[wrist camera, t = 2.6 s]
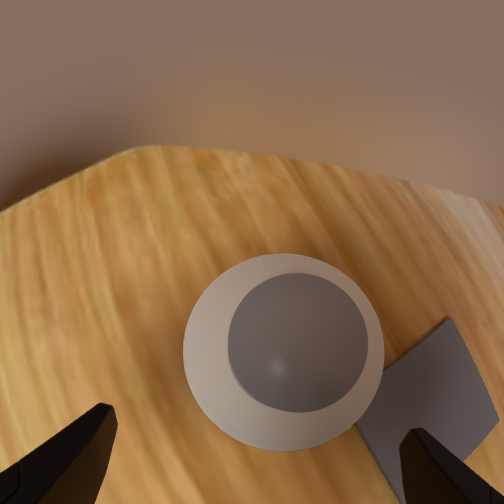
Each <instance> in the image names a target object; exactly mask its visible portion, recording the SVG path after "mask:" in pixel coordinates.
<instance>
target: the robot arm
mask: <svg viewBox="0 0 504 504" xmlns="http://www.w3.org/2000/svg"><path fill="white" fill-rule="evenodd" d="M117 426H118V423H117V418H116V414H115V410H114V407H113V406H112V405H109V404H105V403H98V404H97V405H95V406H94V407H93V408H91V409H90V410H89V411H87V412H86V413H85V414H83V415H82V416H80V417H79V418H78V419H76V420H75V421H74V422H72V423H71V424H69V425H68V426H67V427H65V428H64V429H63V430H61V431H60V432H58V433H57V434H56V435H54V436H53V437H51V438H50V439H49V440H47V441H46V442H44V443H43V444H42V445H40V446H39V447H37V448H36V449H35V450H33V451H32V452H30V453H29V454H28V455H26V456H25V457H23V458H22V459H20V460H19V461H18V462H16V463H14V464H13V465H12V466H10V467H9V468H7V469H6V470H4V471H2V472H1V473H0V504H95V501H96V498H97V496H98V493H99V490H100V487H101V485H102V482H103V479H104V477H105V474H106V471H107V468H108V464H109V460H110V455H111V451H112V447H113V443H114V439H115V435H116V431H117ZM399 453H400V463H401V473H402V483H403V490H404V496H405V501H406V504H504V496H503V495H502V494H500V493H499V492H498V491H497V490H495V489H494V488H493V487H492V486H490V485H489V484H488V483H487V482H486V481H485V480H483V479H482V478H481V477H480V476H479V475H477V474H476V473H475V472H474V471H473V470H472V469H470V468H469V467H468V466H467V465H466V464H464V463H463V462H462V461H461V460H460V459H459V458H457V457H456V456H455V455H454V454H453V453H452V452H450V451H449V450H448V449H447V448H446V447H445V446H444V445H442V444H441V443H440V442H439V441H438V440H437V439H435V438H434V437H433V436H432V435H431V434H430V433H428V432H427V431H426V430H425V429H424V428H421V427H419V428H412V429H410V430H409V432H408V433H407V434H406V436H405V437H404V439H403V440H402V442H401V443H400V446H399Z"/></svg>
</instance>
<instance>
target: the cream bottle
mask: <svg viewBox="0 0 504 504" xmlns="http://www.w3.org/2000/svg"><path fill="white" fill-rule="evenodd" d="M183 361H184V369H185V373H186V377H187V381H188V384H189V387H190V389H191V391H192V394H193V396H194V398H195V400H196V401H197V403H198V405H199V406H200V408H201V409H202V411H203V412H204V413H205V414H206V415H207V417H208V418H209V419H210V420H211V421H212V422H213V423H214V424H215V425H216V426H217V427H218V428H219V429H221V430H222V431H223V432H225V433H226V434H228V435H229V436H231V437H232V438H234V439H236V440H238V441H240V442H242V443H244V444H247V445H250V446H253V447H256V448H259V449H264V450H269V451H281V452H290V451H300V450H305V449H309V448H313V447H316V446H319V445H322V444H324V443H327V442H329V441H331V440H332V439H334V438H336V437H338V436H339V435H341V434H342V433H344V432H345V431H346V430H348V429H349V428H350V427H351V426H352V425H353V424H354V423H355V422H356V421H357V420H358V419H359V418H360V417H361V416H362V415H363V413H364V412H365V411H366V409H367V408H368V407H369V405H370V403H371V401H372V400H373V398H374V396H375V394H376V391H377V389H378V387H379V384H380V380H381V377H382V373H383V366H384V340H383V334H382V330H381V325H380V322H379V320H378V317H377V314H376V312H375V310H374V308H373V306H372V304H371V303H370V301H369V300H368V298H367V297H366V295H365V294H364V292H363V291H362V290H361V289H360V288H359V287H358V286H357V284H356V283H355V282H354V281H352V280H351V279H350V278H349V277H348V276H347V275H346V274H344V273H343V272H341V271H340V270H338V269H337V268H335V267H333V266H331V265H329V264H328V263H326V262H323V261H321V260H318V259H315V258H312V257H308V256H304V255H298V254H291V253H276V254H267V255H262V256H258V257H254V258H251V259H248V260H245V261H243V262H240V263H239V264H237V265H235V266H233V267H231V268H229V269H228V270H227V271H225V272H224V273H222V274H221V275H219V276H218V277H217V278H216V279H215V280H214V281H213V282H212V283H211V284H210V285H209V286H208V287H207V288H206V290H205V291H204V292H203V293H202V294H201V296H200V298H199V299H198V301H197V302H196V304H195V306H194V308H193V310H192V312H191V314H190V317H189V320H188V323H187V326H186V330H185V336H184V342H183Z"/></svg>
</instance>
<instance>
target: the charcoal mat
mask: <svg viewBox="0 0 504 504" xmlns="http://www.w3.org/2000/svg"><path fill="white" fill-rule="evenodd" d="M498 421H499V418H498V415H497V413H496V410H495V408H494V405H493V403H492V401H491V398H490V396H489V394H488V391H487V389H486V387H485V385H484V382H483V380H482V378H481V376H480V374H479V372H478V370H477V367H476V365H475V363H474V361H473V359H472V357H471V355H470V353H469V351H468V349H467V347H466V345H465V343H464V341H463V339H462V338H461V336H460V334H459V332H458V330H457V328H456V326H455V325H454V323H453V321H452V319H451V317H450V318H448V319H446V320H445V321H444V322H442V323H441V324H440V325H439V326H438V327H437V328H436V329H434V330H433V331H432V332H431V333H430V334H429V335H427V336H426V337H425V338H424V339H423V340H421V341H420V342H419V343H418V344H417V345H415V346H414V347H413V348H412V349H410V350H409V351H408V352H407V353H405V354H404V355H403V356H402V357H400V358H399V359H398V360H396V361H395V362H394V363H392V364H391V365H390V366H389V367H387V368H386V369H384V370H383V373H382V377H381V380H380V384H379V387H378V389H377V391H376V394H375V396H374V398H373V400H372V401H371V403H370V405H369V407H368V408H367V409H366V411H365V412H364V413H363V415H362V416H361V417H360V418H359V419H358V420H357V421H356V422H355V425H356V427H357V429H358V430H359V432H360V434H361V436H362V437H363V439H364V441H365V443H366V445H367V446H368V448H369V450H370V452H371V453H372V455H373V457H374V459H375V460H376V462H377V464H378V466H379V467H380V469H381V471H382V473H383V474H384V476H385V478H386V480H387V481H388V483H389V485H390V487H391V489H392V490H393V492H394V494H395V496H396V497H397V499H398V501H399V503H400V504H406V501H405V496H404V490H403V483H402V473H401V463H400V453H399V446H400V443H401V442H402V440H403V439H404V437H405V436H406V434H407V433H408V432H409V430H410V429H412V428H419V427H421V428H424V429H425V430H426V431H427V432H428V433H430V434H431V435H432V436H433V437H434V438H435V439H437V440H438V441H439V442H440V443H441V444H442V445H444V446H445V447H446V448H447V449H448V450H449V451H450V452H452V453H453V454H454V455H455V456H456V457H457V458H459V459H460V460H461V461H462V462H463V461H464V460H465V459H466V458H467V457H468V456H469V455H470V454H471V453H472V452H473V451H474V450H475V448H476V447H477V446H478V445H479V444H480V443H481V442H482V441H483V439H484V438H485V437H486V436H487V435H488V434H489V432H490V431H491V430H492V429H493V428H494V426H495V425H496V424H497V423H498Z"/></svg>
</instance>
